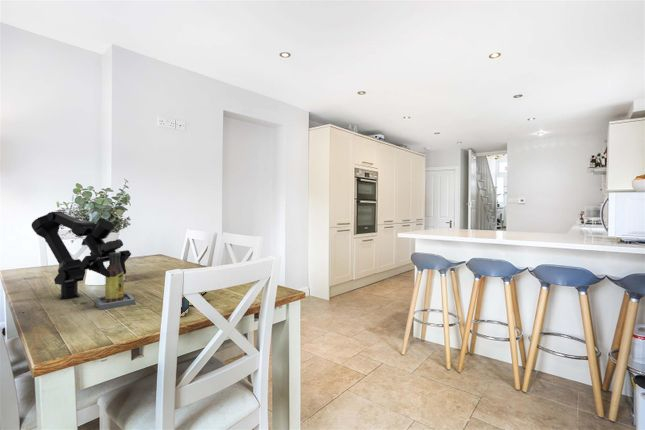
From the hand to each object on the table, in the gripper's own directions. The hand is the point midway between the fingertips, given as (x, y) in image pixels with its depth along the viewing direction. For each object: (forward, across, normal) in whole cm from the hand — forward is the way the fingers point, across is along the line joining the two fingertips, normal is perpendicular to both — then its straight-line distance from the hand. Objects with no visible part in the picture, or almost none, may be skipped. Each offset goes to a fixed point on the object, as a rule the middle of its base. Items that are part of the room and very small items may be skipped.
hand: (117, 275), depth 128 cm
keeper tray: (+7, 0, +9) cm, 12 cm away
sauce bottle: (+7, 0, +9) cm, 11 cm away
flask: (+31, 0, -15) cm, 34 cm away
